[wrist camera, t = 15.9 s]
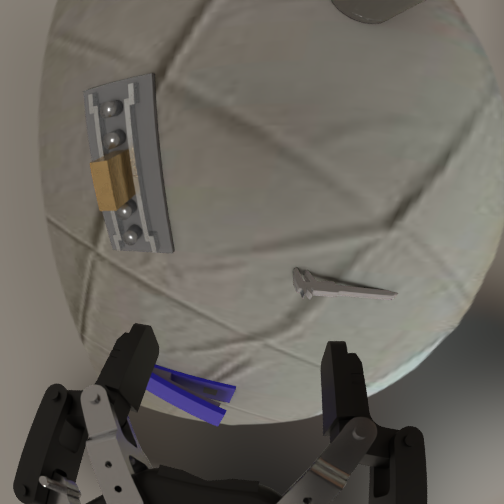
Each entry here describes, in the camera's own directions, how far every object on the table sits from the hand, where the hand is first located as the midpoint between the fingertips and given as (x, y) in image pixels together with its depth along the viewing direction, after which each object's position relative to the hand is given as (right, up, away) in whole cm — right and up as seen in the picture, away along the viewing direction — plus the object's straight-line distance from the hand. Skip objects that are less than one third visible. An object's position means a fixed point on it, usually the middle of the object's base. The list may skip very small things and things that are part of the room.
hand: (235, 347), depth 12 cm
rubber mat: (-18, +16, +25) cm, 35 cm away
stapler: (-18, -32, +57) cm, 68 cm away
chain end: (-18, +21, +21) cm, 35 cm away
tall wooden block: (-18, +16, +25) cm, 34 cm away
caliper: (+17, -1, +33) cm, 37 cm away
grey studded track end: (-18, +11, +28) cm, 35 cm away
